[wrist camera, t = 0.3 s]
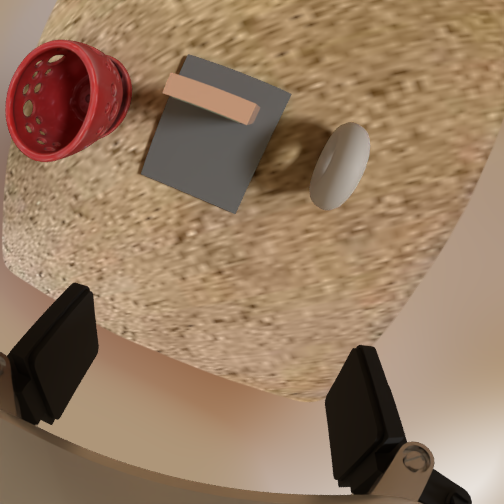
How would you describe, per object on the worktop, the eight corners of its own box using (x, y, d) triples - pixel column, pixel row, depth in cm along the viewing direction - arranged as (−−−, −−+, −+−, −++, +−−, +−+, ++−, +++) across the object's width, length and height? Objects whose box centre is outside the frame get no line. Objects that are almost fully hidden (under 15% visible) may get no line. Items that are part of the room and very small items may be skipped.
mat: (189, 55, 31) (188, 54, 31) (291, 94, 33) (291, 94, 32) (143, 172, 38) (140, 174, 37) (236, 212, 39) (235, 214, 39)
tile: (196, 82, 32) (170, 72, 23) (260, 107, 33) (256, 104, 24) (189, 99, 33) (161, 94, 24) (252, 124, 34) (246, 126, 25)
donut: (334, 116, 34) (356, 116, 25) (359, 129, 34) (388, 135, 25) (300, 189, 38) (309, 214, 29) (325, 201, 38) (341, 229, 29)
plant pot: (52, 134, 36) (-5, 148, 25) (77, 47, 30) (21, 35, 20) (126, 158, 37) (75, 178, 26) (158, 62, 32) (113, 44, 21)
